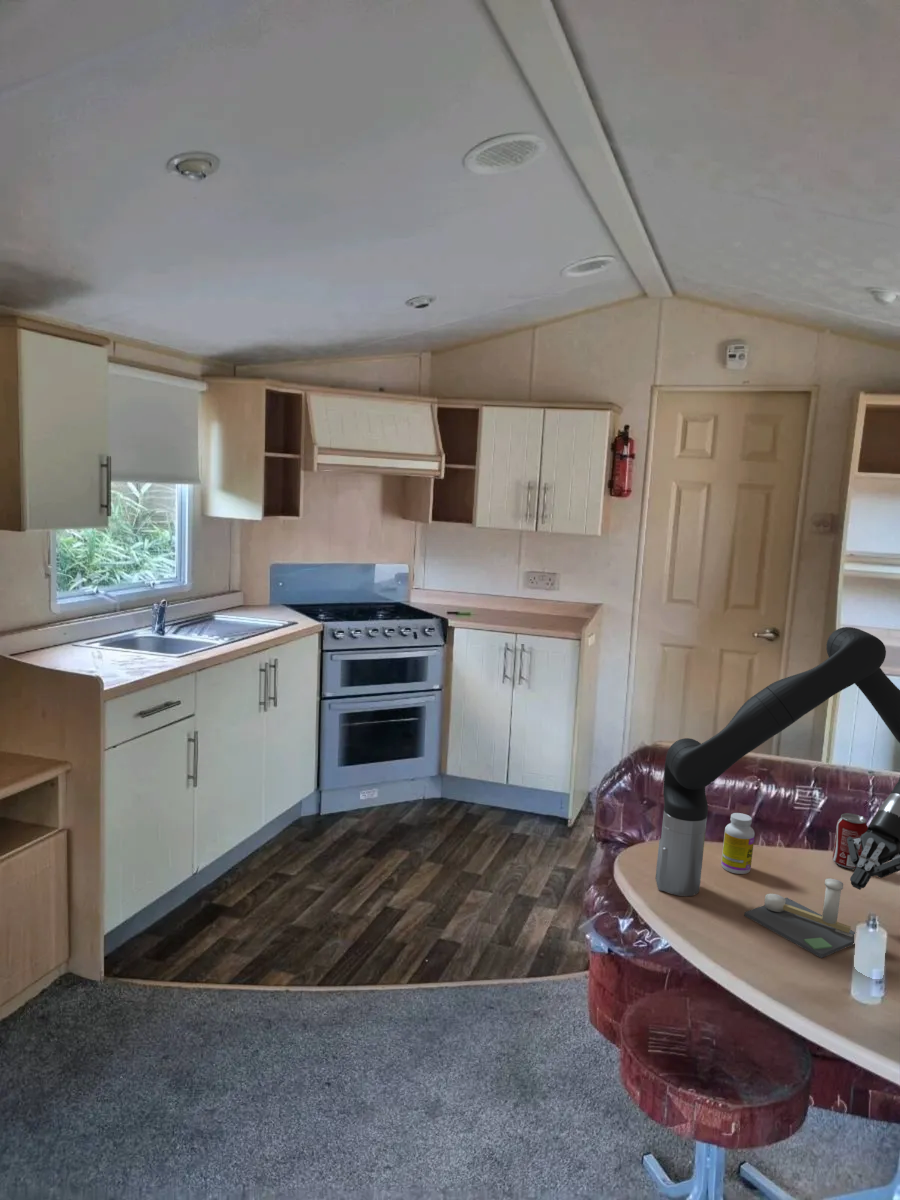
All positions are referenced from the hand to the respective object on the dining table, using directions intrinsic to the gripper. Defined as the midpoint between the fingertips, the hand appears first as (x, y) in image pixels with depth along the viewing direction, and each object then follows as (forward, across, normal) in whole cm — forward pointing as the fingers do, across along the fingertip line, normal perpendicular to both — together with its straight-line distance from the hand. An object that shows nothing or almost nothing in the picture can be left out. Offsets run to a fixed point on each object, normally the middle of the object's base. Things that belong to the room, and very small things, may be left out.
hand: (855, 886), depth 180 cm
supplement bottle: (+7, -28, +5) cm, 29 cm away
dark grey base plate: (+14, -4, -2) cm, 14 cm away
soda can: (-12, -17, +24) cm, 32 cm away
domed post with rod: (+11, -4, -2) cm, 12 cm away
